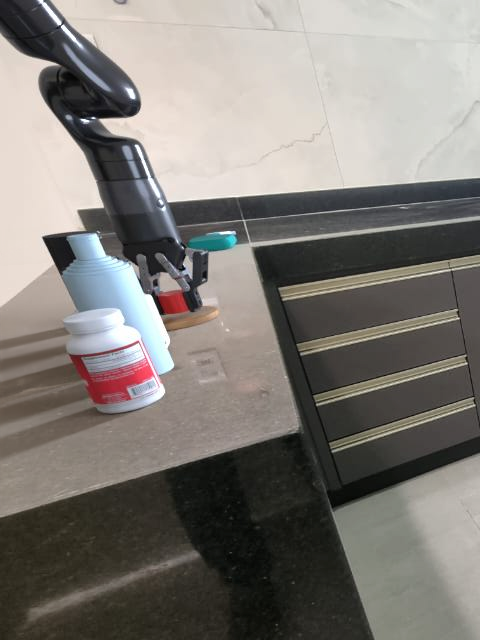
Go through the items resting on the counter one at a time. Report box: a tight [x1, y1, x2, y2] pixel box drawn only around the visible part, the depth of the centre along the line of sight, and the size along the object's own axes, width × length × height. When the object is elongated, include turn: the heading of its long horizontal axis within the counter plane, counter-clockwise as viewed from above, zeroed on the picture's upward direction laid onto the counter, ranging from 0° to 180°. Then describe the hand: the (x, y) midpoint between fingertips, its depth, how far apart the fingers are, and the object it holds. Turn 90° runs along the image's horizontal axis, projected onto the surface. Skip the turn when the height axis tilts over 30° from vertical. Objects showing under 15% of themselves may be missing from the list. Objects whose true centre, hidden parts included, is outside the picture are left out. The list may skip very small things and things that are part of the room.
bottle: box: [61, 232, 175, 377], centre depth 67 cm, size 6×6×18 cm
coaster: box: [160, 305, 220, 331], centre depth 90 cm, size 10×10×1 cm
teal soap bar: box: [187, 230, 238, 252], centre depth 155 cm, size 3×11×25 cm
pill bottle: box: [62, 308, 166, 414], centre depth 60 cm, size 6×6×11 cm
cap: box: [157, 288, 190, 314], centre depth 89 cm, size 4×4×3 cm
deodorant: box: [41, 230, 94, 309], centre depth 88 cm, size 6×6×15 cm
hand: (180, 311), depth 90 cm, fingers closed on cap, 4 cm apart
